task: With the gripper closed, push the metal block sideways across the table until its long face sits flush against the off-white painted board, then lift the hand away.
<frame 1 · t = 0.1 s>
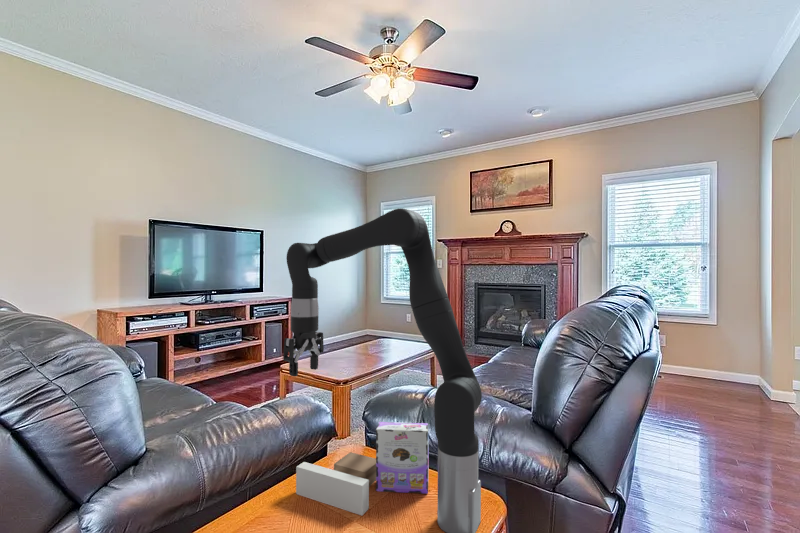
hand: (304, 372, 111), 29 cm above the table, tool pointing down, fingers open, 8 cm apart
painted board: (331, 501, 100), on the table
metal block: (357, 479, 110), on the table
candy box: (402, 487, 106), on the table
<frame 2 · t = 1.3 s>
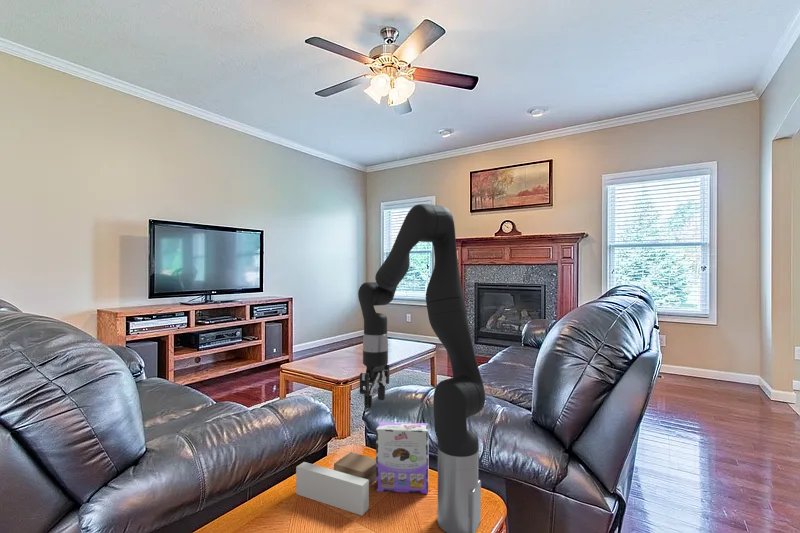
hand: (375, 403, 119), 18 cm above the table, tool pointing down, fingers open, 7 cm apart
nothing on the table moved.
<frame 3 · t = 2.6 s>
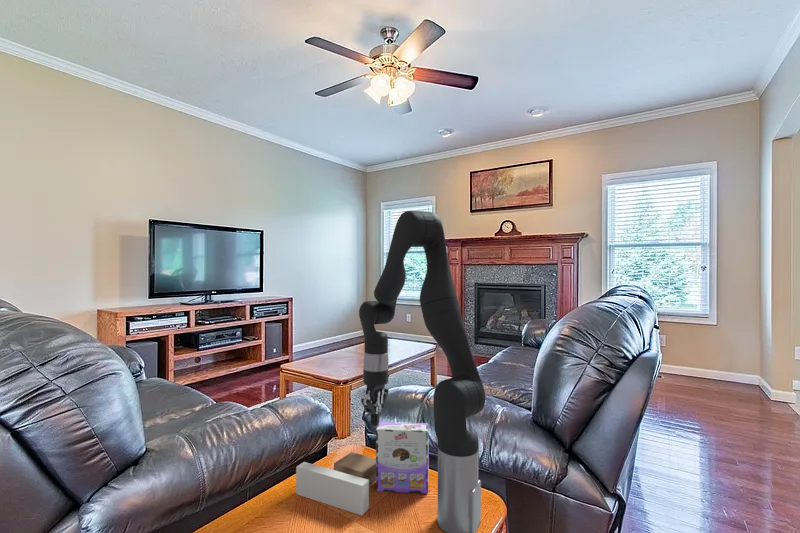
hand: (375, 424, 120), 11 cm above the table, tool pointing down, fingers closed
nothing on the table moved.
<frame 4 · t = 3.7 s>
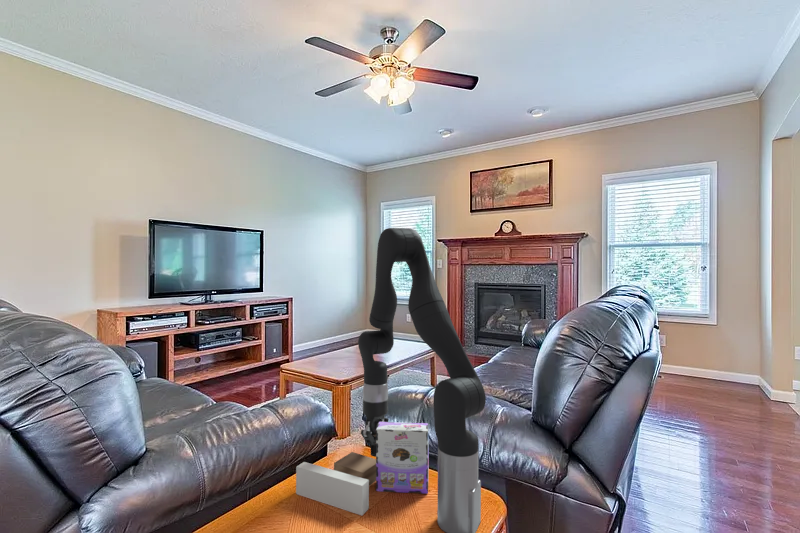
hand: (375, 455, 119), 2 cm above the table, tool pointing down, fingers closed
nothing on the table moved.
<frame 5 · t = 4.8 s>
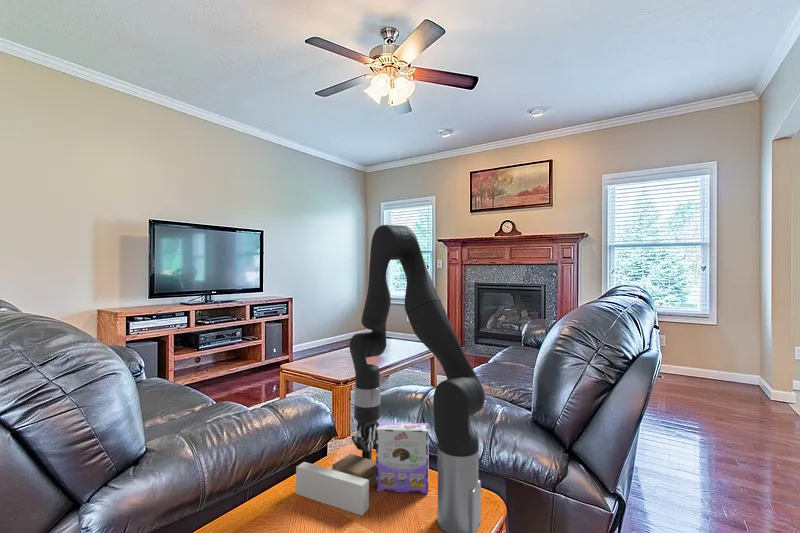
hand: (366, 461, 115), 3 cm above the table, tool pointing down, fingers closed
nothing on the table moved.
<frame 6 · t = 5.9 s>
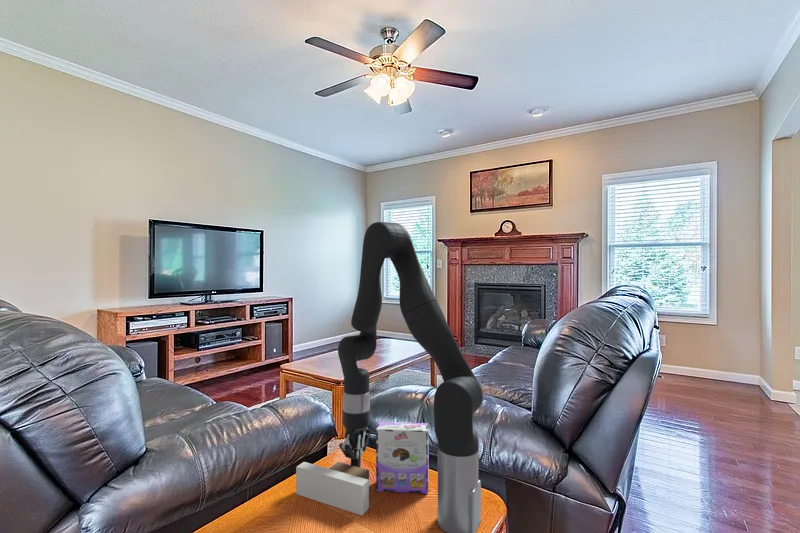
hand: (355, 470, 110), 3 cm above the table, tool pointing down, fingers closed
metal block: (344, 491, 104), on the table, touching gripper
everything else where it was.
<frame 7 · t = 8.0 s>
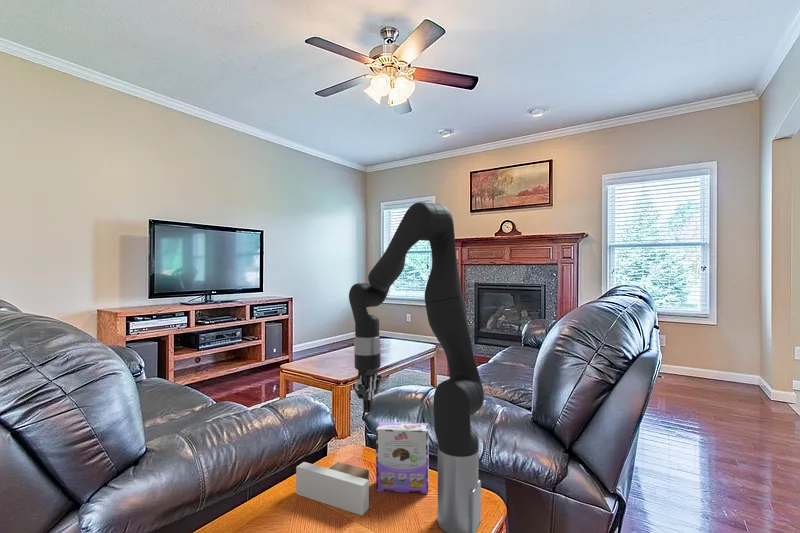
hand: (367, 411, 115), 17 cm above the table, tool pointing down, fingers closed
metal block: (344, 491, 104), on the table
everything else where it was.
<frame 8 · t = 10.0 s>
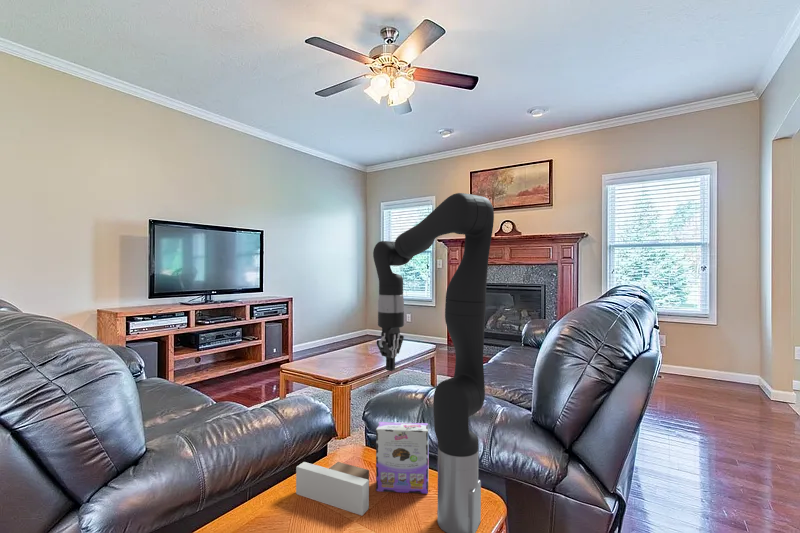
hand: (390, 370, 115), 29 cm above the table, tool pointing down, fingers closed
nothing on the table moved.
at the end: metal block 0.3 cm from the target spot on the table beside the painted board, on the table; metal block tilted 0° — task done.
